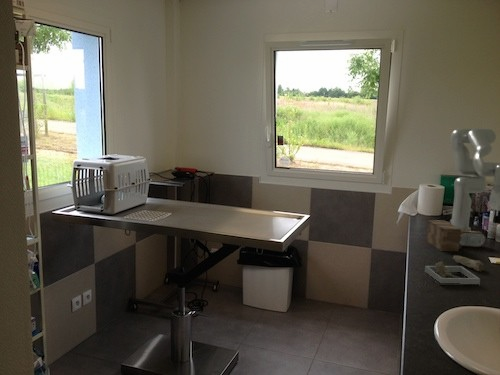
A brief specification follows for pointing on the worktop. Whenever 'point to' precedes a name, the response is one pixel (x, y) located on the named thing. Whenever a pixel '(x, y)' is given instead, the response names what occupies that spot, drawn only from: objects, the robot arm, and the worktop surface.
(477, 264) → the bone fragment
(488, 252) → the worktop surface
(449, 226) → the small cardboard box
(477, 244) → the tin
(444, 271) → the vertebra
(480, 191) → the robot arm
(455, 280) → the frame
